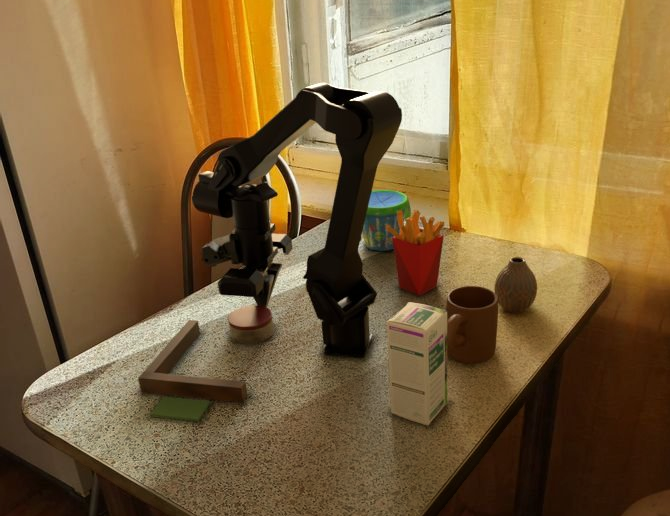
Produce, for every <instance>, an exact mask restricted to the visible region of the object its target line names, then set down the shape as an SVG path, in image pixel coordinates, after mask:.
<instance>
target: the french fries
mask: <svg viewBox="0 0 670 516" xmlns="http://www.w3.org/2000/svg"><path fill="white" fill-rule="evenodd" d="M420 215H421V212H420V210H418V209H414V210H413V212H412V213H411V217H410V218H407V219H404V222H403V212H402V210H399V211H397V219H398V224H399V227H400V234H398V233H397V232H396V231H395V230H393V229H392V228H391V226H390V225H388V224H387V225H386V227H385V228H386V229H387V230H388V231H389V232H390V233H392V234H393V235H394V236H395V237H393V238H392V241H393V248H394V249H393V254H394V261H395V268H396V275H397V281H398V288H399V289H402V290H405V291H407V292H409V293H412V294H415V295H417V296H422V295H423V294H425V293H427V292H429V291H431V290H432V289H434V288H436V287H437V286H438V281H439V273H440V267H441V266H440V265H441V259H442V253H443V244H444V235H443V234H440V233H441V231H442V229H443V228H444V226H445V221H442V220H441V221H437V222H436V223H434V222H435V217H434V216H432V217H429V219H428V222H427V219H426V217H425V215H422V216H420ZM419 222H421V224H422V227H423V228H420V223H419Z"/></svg>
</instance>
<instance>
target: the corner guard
mask: <svg viewBox="0 0 670 516" xmlns="http://www.w3.org/2000/svg"><path fill="white" fill-rule="evenodd" d="M200 335H201V331H200V324H199V320H198V319H197V320H194V319H188V320H187V321H186V323H185V324H184V325H183V326H182V327H181V328H180V330H179V331H178V332H177V333H176V334H175V335H174V336H173V337H172V339H171V340H170V341H169V342H168V343H167V344H166V346H165V347H164V348H163V349H162V350H161V351H160V352H159V353H158V354H157V356H156V357H154V359H153V360H152V361H151V363H150V364H148V366H147V367H146V368H145V369H144V370H143V371H142V373H141V374H140V375H139V376H138V377H137V379H138V384H139V387H140V391H141V393H145V394H156V395H166V396H174V397H175V396H176V397H185V398H195V399H205V400H215V401H222V402H223V401H224V402H233V403H245V401H246V400H247V398H248V390H247V384H246V380H245V381H244V380H234V379H223V378H212V377H204V376H203V377H202V376H193V375H192V376H191V375H183V374H181V375H180V374H173V373H172V374H171V373H170V371H171V370H172V369H173V367H175V365H176V364H177V363H178V361H179V360H180V359H182V357H183V355H184V354H185V353H186V352H187V350H188V349H189V348H190V346H192V344H193V343H194V342H195V341H196V340H197V338H198V337H199V336H200Z"/></svg>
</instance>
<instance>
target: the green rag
mask: <svg viewBox="0 0 670 516" xmlns="http://www.w3.org/2000/svg"><path fill="white" fill-rule="evenodd" d="M210 406H211V401H210V400H202V399H201V400H199V399H191V398H182V397H171V396H163V397H162V398H161V400H160V401H159V403H158V404H157V405H156V406H155V408H154V409H153V410H152V411H151V413H150V417H153V418H161V419H162V418H163V419H170V420H181V421H190V422H199V421H200V420H201V419H202V417H203V415H204V414H205V412H206V411H207V410H208V408H209V407H210Z"/></svg>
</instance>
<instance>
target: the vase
mask: <svg viewBox="0 0 670 516" xmlns="http://www.w3.org/2000/svg"><path fill="white" fill-rule="evenodd" d="M493 290H494V291H493V292H494V293H495V294H496V295H497V297H498V306H499V307H501V309H503V310H504V311H506V312H509V313H514V314H515V313H523V312H525V311H526V310H528V309H529V308H531V306H532V305H533V304H534V302H535V300H536V297H537V293H538V282H537V278H536V275H535V274H534V272H533V271H532V269H531V268H530V267H529V265H528V263H527V261H526V259H525V258H523V257H520V256H519V257H518V256H515V257H511V258H510V259H509V261H508V263H507V264H506V265H504V267H503V268H501V270H500V271H499V273H498V274H497V276H496V278H495V281H494V289H493Z"/></svg>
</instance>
